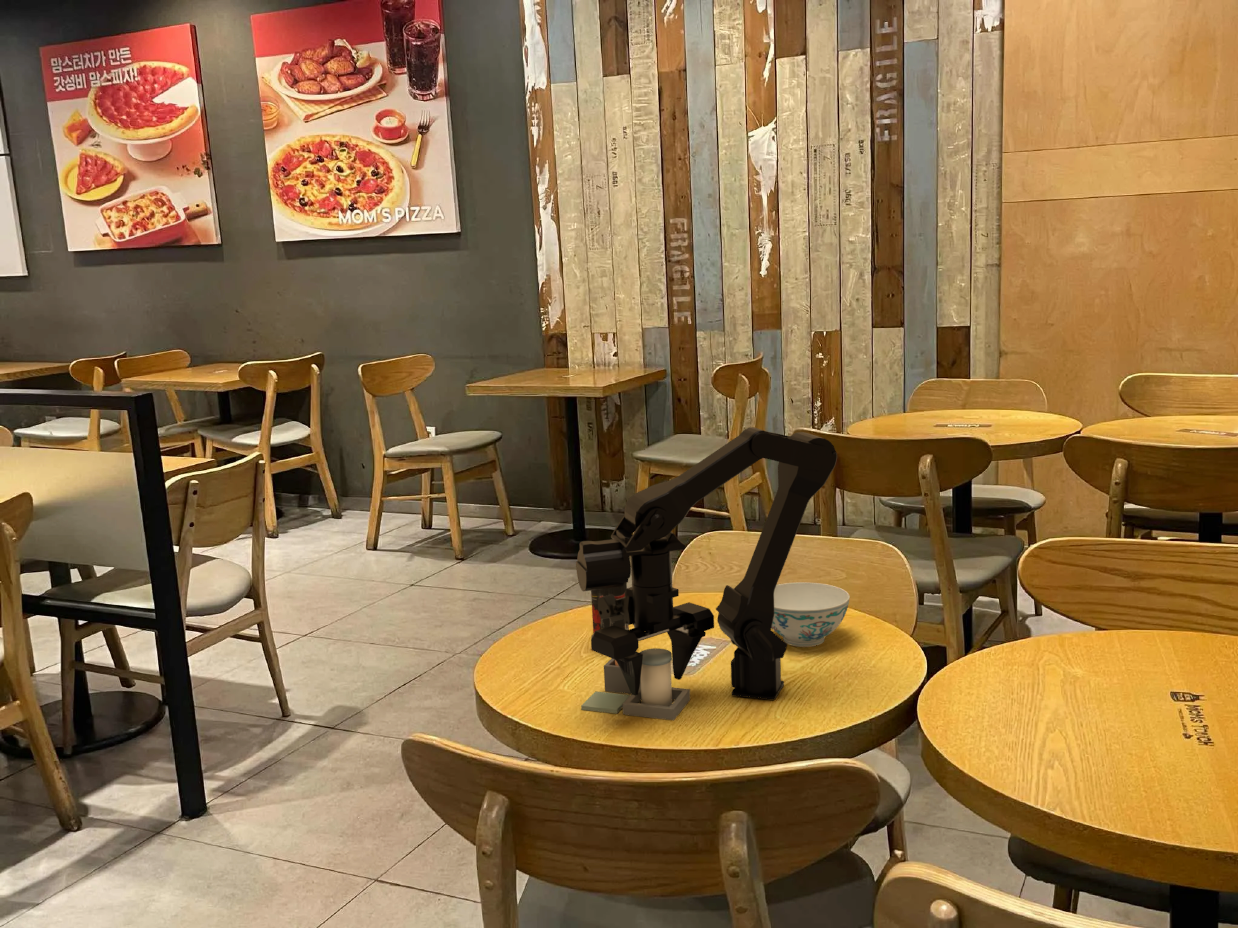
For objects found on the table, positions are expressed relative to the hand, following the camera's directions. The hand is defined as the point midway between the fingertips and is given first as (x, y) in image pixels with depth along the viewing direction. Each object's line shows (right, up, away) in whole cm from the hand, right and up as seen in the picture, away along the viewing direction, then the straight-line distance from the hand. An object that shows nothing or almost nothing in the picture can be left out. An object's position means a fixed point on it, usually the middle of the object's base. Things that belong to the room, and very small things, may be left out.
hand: (656, 686), depth 158 cm
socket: (0, -3, +1) cm, 3 cm away
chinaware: (+25, +2, +25) cm, 36 cm away
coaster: (-7, -3, +2) cm, 8 cm away
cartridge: (0, -3, +1) cm, 3 cm away
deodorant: (-7, +1, +26) cm, 27 cm away
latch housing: (-4, -2, +9) cm, 10 cm away
